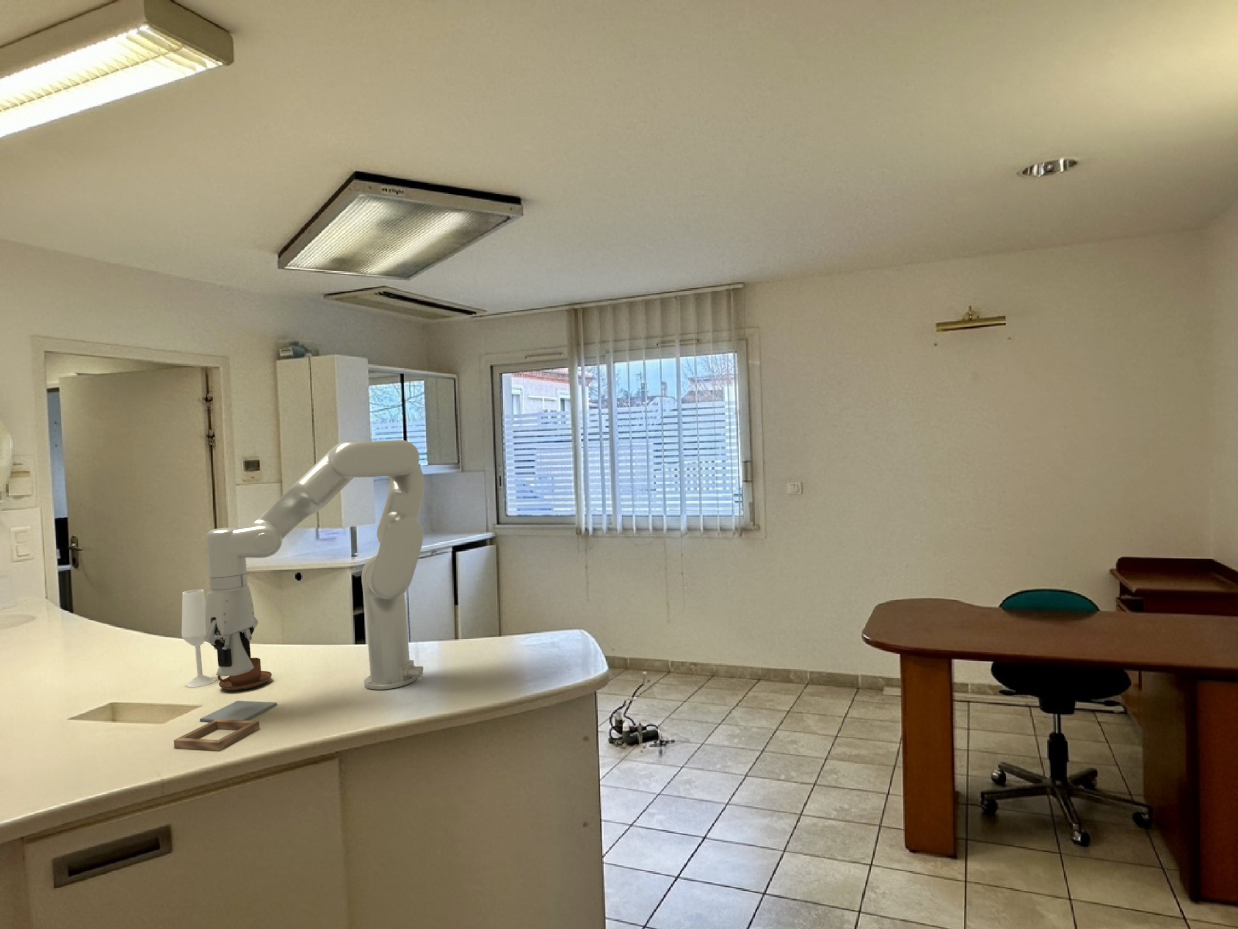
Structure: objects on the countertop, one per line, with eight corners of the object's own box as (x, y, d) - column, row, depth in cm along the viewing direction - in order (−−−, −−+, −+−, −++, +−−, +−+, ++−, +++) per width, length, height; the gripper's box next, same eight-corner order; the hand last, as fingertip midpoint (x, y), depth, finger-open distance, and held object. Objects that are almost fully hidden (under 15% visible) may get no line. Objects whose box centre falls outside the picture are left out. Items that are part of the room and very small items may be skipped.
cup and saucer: (236, 697, 178) (234, 672, 178) (209, 690, 184) (207, 666, 184) (282, 681, 188) (280, 657, 188) (254, 675, 195) (253, 652, 194)
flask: (260, 667, 169) (257, 624, 168) (238, 677, 161) (234, 633, 161) (233, 667, 170) (229, 624, 170) (209, 677, 163) (206, 633, 163)
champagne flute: (182, 684, 191) (174, 592, 190) (210, 676, 196) (202, 587, 195) (190, 689, 186) (182, 595, 185) (219, 681, 191) (211, 590, 190)
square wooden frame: (259, 728, 156) (259, 721, 156) (219, 750, 145) (218, 742, 145) (217, 726, 159) (216, 719, 159) (174, 748, 148) (173, 740, 148)
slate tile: (276, 705, 170) (276, 702, 170) (241, 723, 159) (241, 721, 159) (237, 703, 173) (237, 700, 173) (200, 721, 162) (199, 718, 162)
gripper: (243, 575, 174) (248, 651, 175) (183, 590, 158) (190, 674, 158) (269, 575, 172) (275, 651, 173) (212, 590, 156) (219, 675, 156)
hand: (234, 661), depth 166 cm, fingers closed on flask, 4 cm apart
